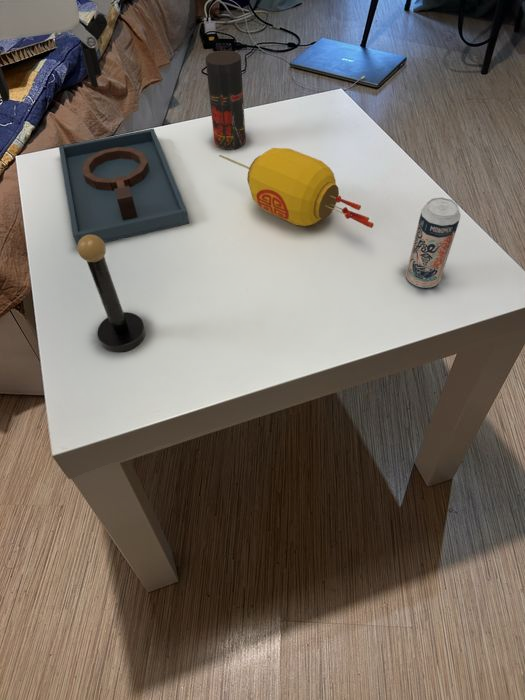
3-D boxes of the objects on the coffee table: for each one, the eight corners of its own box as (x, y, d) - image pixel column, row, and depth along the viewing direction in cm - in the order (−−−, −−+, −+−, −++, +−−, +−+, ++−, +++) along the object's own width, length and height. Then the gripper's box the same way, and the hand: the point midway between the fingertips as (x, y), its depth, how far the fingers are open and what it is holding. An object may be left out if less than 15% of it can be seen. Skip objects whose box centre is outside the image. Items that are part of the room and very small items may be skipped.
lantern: (395, 172, 72) (230, 111, 84) (356, 221, 69) (191, 150, 81) (392, 222, 80) (243, 160, 93) (357, 267, 78) (208, 196, 90)
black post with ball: (102, 357, 66) (61, 261, 54) (96, 324, 70) (57, 227, 58) (149, 345, 68) (119, 248, 55) (141, 313, 71) (111, 215, 59)
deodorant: (211, 137, 101) (201, 53, 89) (240, 131, 102) (235, 48, 90) (218, 152, 97) (210, 67, 85) (249, 146, 98) (245, 61, 86)
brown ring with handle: (81, 162, 95) (75, 141, 92) (142, 150, 97) (137, 130, 94) (95, 226, 83) (88, 205, 80) (164, 211, 85) (160, 190, 82)
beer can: (400, 283, 73) (417, 212, 64) (411, 263, 76) (429, 191, 67) (434, 294, 72) (457, 222, 63) (443, 273, 75) (467, 201, 65)
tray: (77, 248, 80) (73, 235, 79) (62, 158, 97) (58, 146, 95) (189, 223, 84) (187, 210, 82) (155, 140, 100) (153, 128, 99)
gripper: (82, -126, 50) (122, 65, 63) (-115, -111, 46) (-30, 88, 59) (92, -113, 45) (133, 91, 58) (-126, -95, 42) (-32, 117, 55)
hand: (50, 89), depth 59 cm, fingers open, 9 cm apart
